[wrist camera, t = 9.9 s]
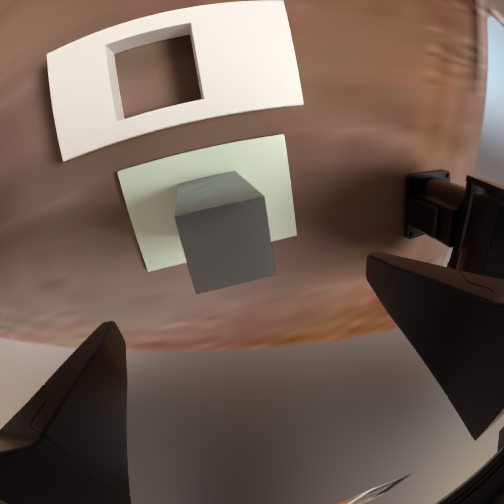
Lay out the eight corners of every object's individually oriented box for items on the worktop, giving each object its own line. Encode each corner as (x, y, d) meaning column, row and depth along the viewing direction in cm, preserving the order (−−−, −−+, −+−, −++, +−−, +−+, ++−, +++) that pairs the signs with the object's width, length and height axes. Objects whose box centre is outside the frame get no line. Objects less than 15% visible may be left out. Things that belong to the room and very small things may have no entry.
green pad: (281, 133, 20) (283, 134, 19) (294, 233, 23) (296, 235, 23) (118, 170, 18) (117, 171, 18) (148, 268, 22) (148, 271, 21)
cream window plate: (272, 12, 15) (283, 0, 13) (290, 106, 19) (303, 104, 17) (60, 60, 13) (46, 54, 11) (76, 157, 17) (63, 161, 15)
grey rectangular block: (234, 170, 19) (264, 196, 12) (244, 223, 21) (275, 274, 14) (178, 183, 19) (174, 216, 12) (191, 235, 21) (196, 294, 14)
